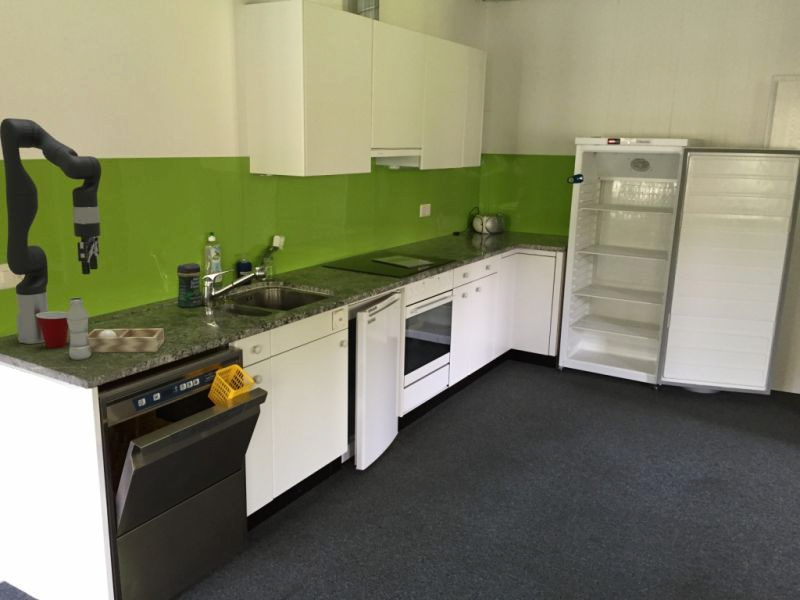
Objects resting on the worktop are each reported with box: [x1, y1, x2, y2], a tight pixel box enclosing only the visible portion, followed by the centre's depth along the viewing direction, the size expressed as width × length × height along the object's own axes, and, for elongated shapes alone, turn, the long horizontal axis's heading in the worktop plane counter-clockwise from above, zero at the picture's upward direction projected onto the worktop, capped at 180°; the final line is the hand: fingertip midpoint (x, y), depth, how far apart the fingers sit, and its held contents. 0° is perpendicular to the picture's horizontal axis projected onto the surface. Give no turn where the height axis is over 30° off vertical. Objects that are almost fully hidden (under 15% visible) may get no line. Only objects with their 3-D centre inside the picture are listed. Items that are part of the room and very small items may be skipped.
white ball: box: [98, 330, 117, 338], centre depth 227 cm, size 6×6×6 cm
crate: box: [88, 327, 165, 354], centre depth 228 cm, size 23×12×6 cm, turn 98°
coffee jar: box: [176, 262, 203, 309], centre depth 290 cm, size 10×8×19 cm
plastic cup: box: [36, 311, 69, 349], centre depth 228 cm, size 11×11×12 cm
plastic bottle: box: [66, 297, 92, 361], centre depth 215 cm, size 6×7×20 cm
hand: (90, 271), depth 215 cm, fingers open, 8 cm apart
